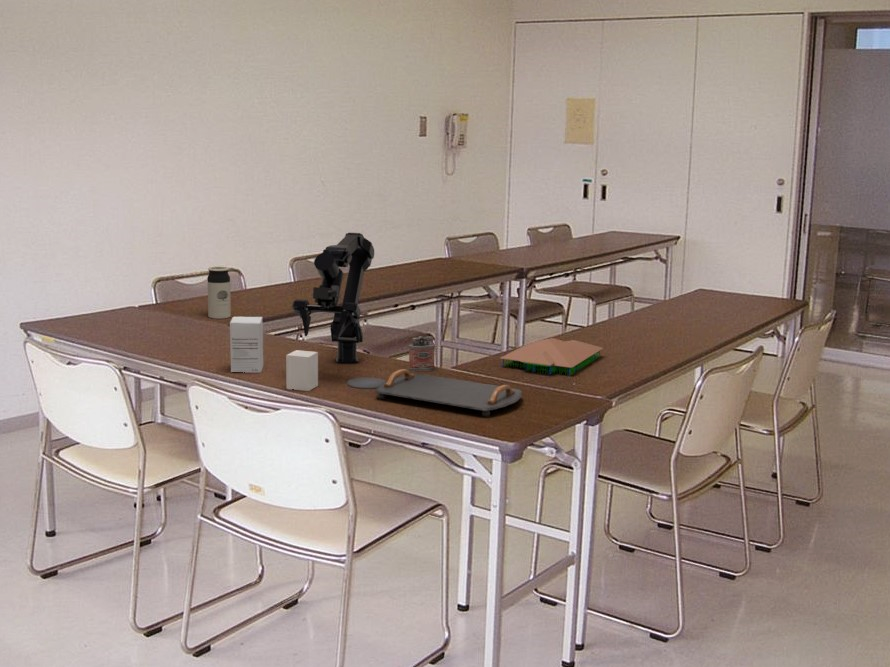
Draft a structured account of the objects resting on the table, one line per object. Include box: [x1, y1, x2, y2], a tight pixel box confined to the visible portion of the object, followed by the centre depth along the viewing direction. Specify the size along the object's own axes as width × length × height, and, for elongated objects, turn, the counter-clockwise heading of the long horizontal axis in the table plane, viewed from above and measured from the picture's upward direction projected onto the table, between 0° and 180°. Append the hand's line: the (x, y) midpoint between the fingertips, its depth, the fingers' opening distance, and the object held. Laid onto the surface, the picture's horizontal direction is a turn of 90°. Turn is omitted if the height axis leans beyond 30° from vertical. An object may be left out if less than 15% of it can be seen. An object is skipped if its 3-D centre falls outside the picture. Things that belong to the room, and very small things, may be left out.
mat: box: [346, 377, 386, 390], centre depth 296 cm, size 11×11×1 cm
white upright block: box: [285, 349, 319, 392], centre depth 290 cm, size 6×6×10 cm
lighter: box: [407, 335, 436, 372], centre depth 313 cm, size 8×3×10 cm, turn 106°
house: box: [499, 337, 604, 377], centre depth 326 cm, size 23×33×8 cm
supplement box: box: [229, 316, 264, 374], centre depth 308 cm, size 9×9×15 cm
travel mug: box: [206, 266, 232, 320], centre depth 383 cm, size 8×8×18 cm
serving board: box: [375, 368, 523, 418], centre depth 282 cm, size 39×23×6 cm, turn 62°
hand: (321, 336), depth 295 cm, fingers open, 9 cm apart
